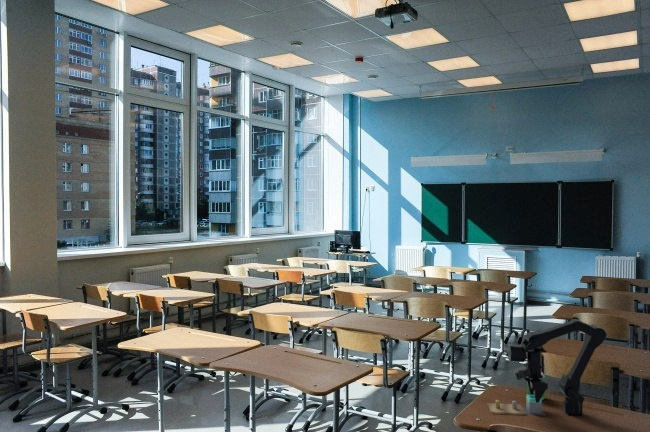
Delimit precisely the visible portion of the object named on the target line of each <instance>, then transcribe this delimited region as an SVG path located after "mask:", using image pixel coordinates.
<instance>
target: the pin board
mask: <svg viewBox="0 0 650 432" xmlns="http://www.w3.org/2000/svg"><path fill="white" fill-rule="evenodd" d="M486 403H487V408H488V409H489V411H490V414H491V415H492V414H494V415H495V414H496V415H509V416H510V415H511V416H512V415H514V416H527V414H526V413H525V411H524V409H523V408H522V407H523V406H522V405H521V404H518V401H516V400H512V401H511V403H501V400H499V399H495V403H494V402H486Z"/></svg>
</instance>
